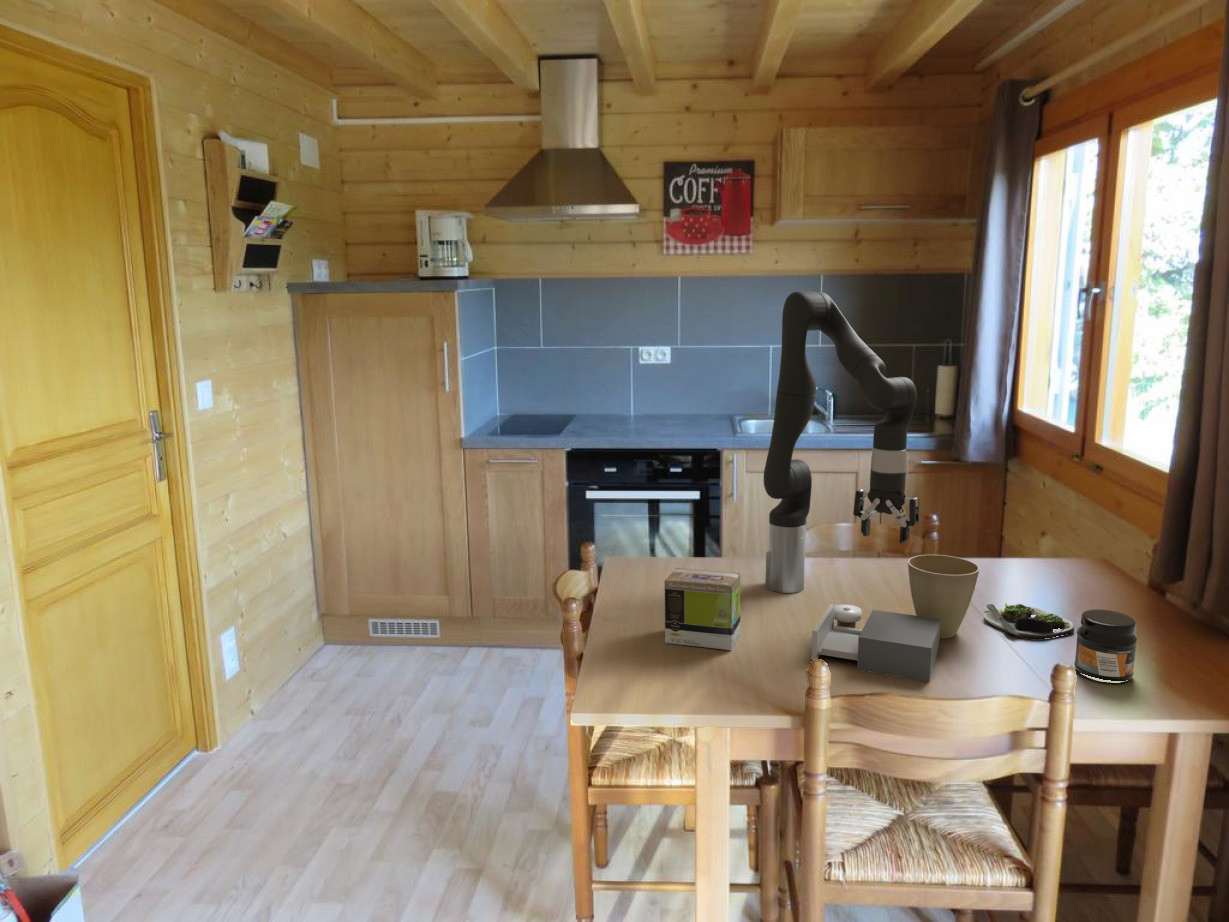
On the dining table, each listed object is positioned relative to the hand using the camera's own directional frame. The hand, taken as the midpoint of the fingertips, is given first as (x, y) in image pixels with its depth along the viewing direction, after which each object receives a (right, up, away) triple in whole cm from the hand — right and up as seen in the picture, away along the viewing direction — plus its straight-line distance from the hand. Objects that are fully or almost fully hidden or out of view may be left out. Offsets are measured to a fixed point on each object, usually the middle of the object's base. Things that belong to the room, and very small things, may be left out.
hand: (884, 539), depth 203 cm
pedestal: (-8, -21, +1) cm, 23 cm away
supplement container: (+37, -25, -22) cm, 50 cm away
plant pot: (+12, -21, 0) cm, 24 cm away
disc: (-8, -17, 0) cm, 19 cm away
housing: (-1, -24, -14) cm, 28 cm away
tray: (-10, -23, -11) cm, 27 cm away
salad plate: (+34, -21, +3) cm, 40 cm away
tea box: (-41, -22, -3) cm, 47 cm away
